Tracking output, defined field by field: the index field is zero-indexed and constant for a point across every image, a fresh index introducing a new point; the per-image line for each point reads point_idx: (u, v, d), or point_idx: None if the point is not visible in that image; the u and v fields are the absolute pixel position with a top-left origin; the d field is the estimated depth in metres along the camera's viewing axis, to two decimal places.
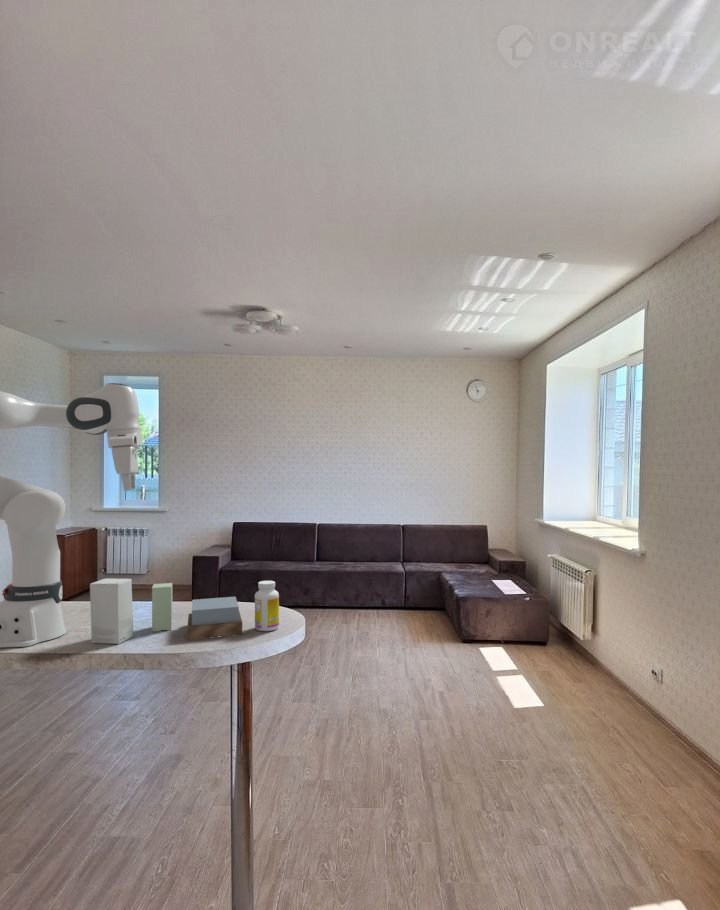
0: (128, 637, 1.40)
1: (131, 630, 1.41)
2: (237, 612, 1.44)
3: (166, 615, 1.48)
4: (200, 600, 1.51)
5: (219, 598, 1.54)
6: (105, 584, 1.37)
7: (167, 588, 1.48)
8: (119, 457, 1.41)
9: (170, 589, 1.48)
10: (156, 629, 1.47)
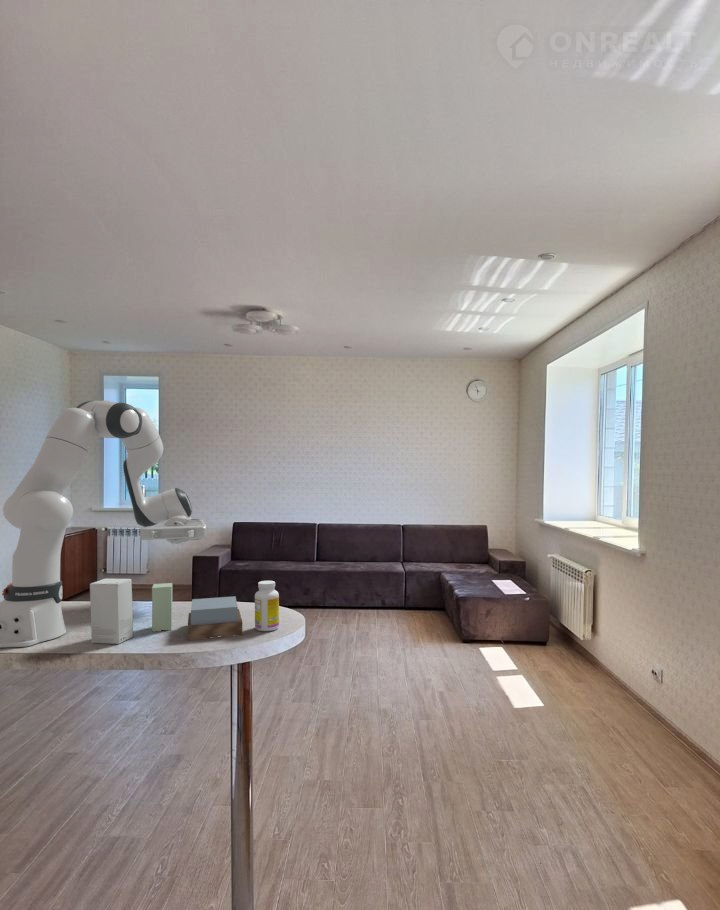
0: (128, 637, 1.40)
1: (131, 630, 1.41)
2: (236, 612, 1.44)
3: (166, 615, 1.48)
4: (200, 600, 1.51)
5: (219, 598, 1.53)
6: (105, 584, 1.37)
7: (167, 588, 1.48)
8: None
9: (170, 589, 1.48)
10: (156, 629, 1.47)
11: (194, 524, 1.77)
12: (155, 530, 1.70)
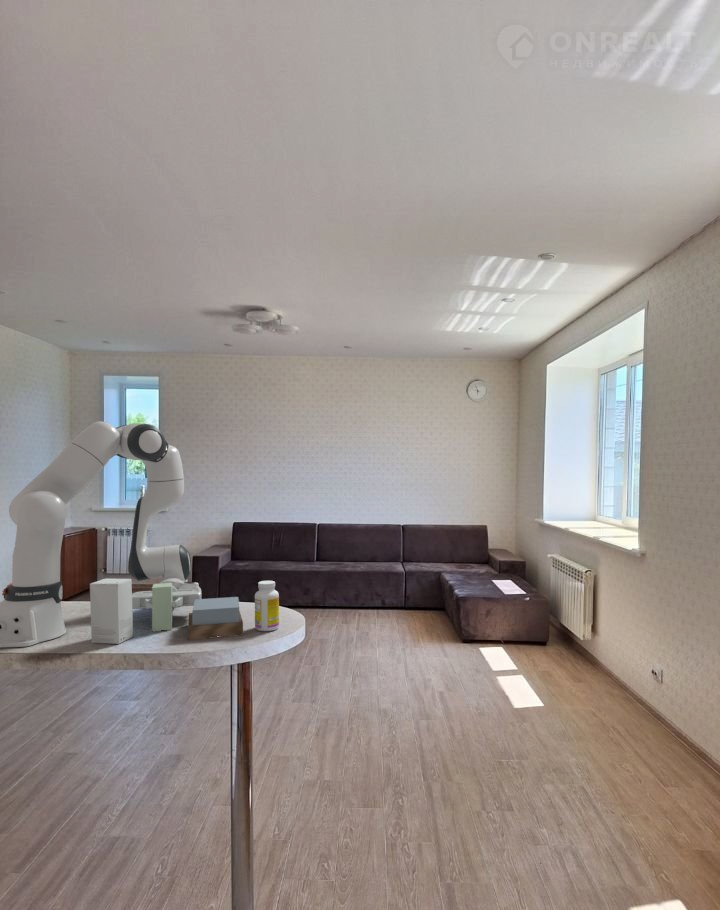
0: (128, 637, 1.40)
1: (131, 630, 1.41)
2: (238, 612, 1.44)
3: (166, 615, 1.48)
4: (202, 600, 1.51)
5: (222, 598, 1.53)
6: (105, 584, 1.37)
7: (167, 588, 1.48)
8: None
9: (170, 589, 1.48)
10: (156, 629, 1.47)
11: (188, 589, 1.61)
12: (144, 598, 1.53)
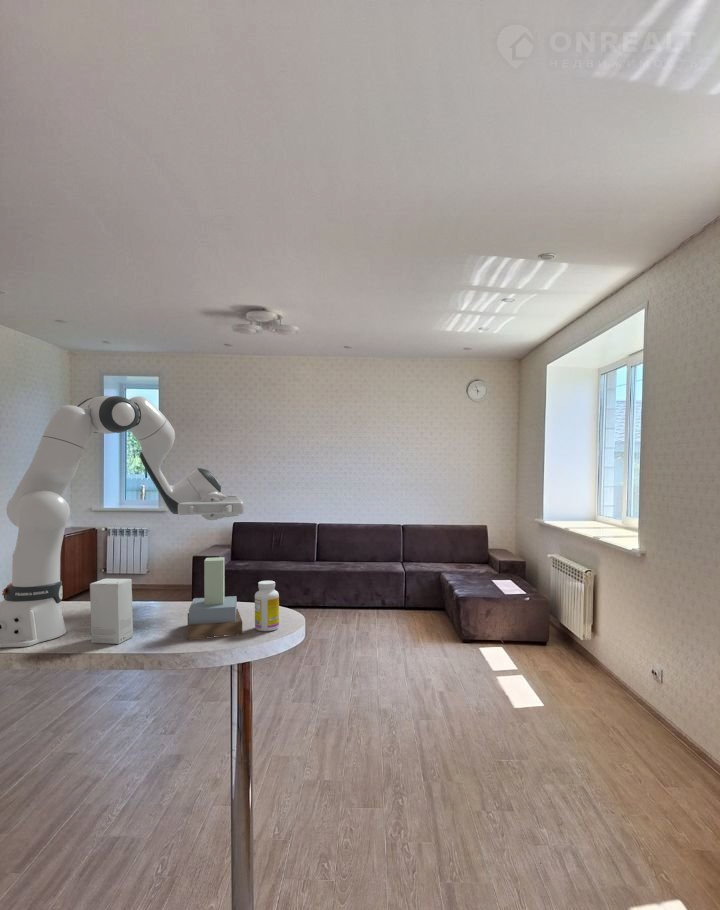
0: (128, 637, 1.40)
1: (131, 630, 1.41)
2: (234, 612, 1.44)
3: (218, 588, 1.47)
4: (201, 599, 1.52)
5: None
6: (105, 584, 1.37)
7: (219, 562, 1.47)
8: None
9: (222, 563, 1.47)
10: (208, 602, 1.46)
11: (230, 500, 1.75)
12: (193, 505, 1.68)
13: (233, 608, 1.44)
